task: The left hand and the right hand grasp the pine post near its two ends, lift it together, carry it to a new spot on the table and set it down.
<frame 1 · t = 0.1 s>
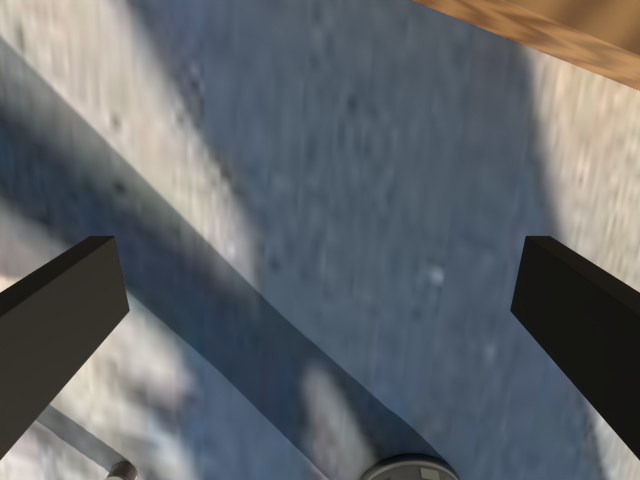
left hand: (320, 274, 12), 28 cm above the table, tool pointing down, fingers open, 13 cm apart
light bulb: (124, 470, 55), on the table
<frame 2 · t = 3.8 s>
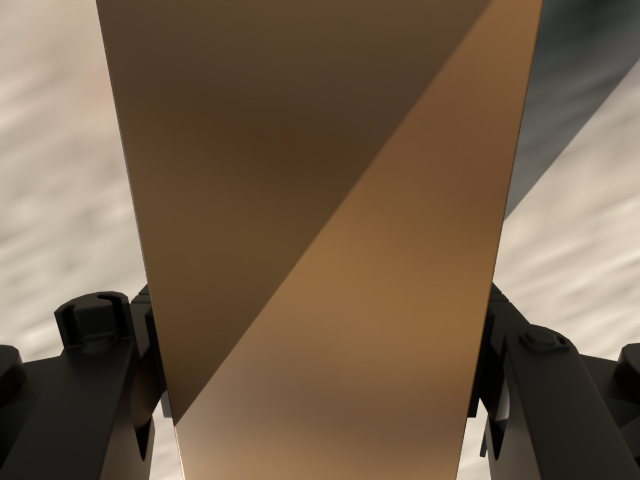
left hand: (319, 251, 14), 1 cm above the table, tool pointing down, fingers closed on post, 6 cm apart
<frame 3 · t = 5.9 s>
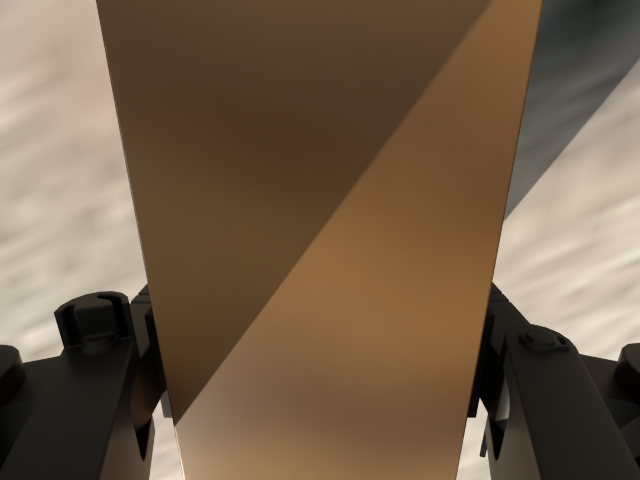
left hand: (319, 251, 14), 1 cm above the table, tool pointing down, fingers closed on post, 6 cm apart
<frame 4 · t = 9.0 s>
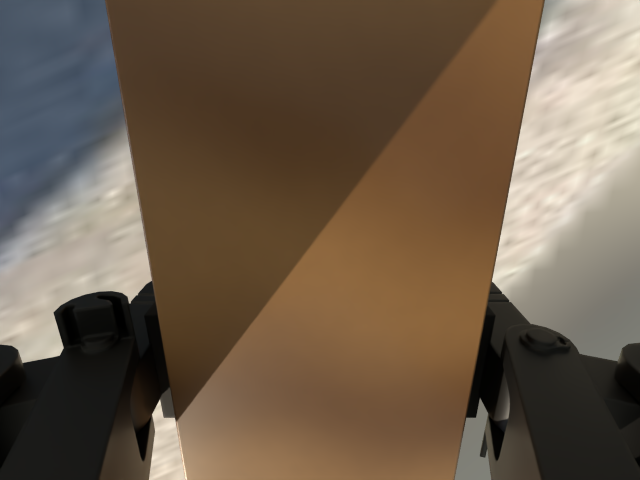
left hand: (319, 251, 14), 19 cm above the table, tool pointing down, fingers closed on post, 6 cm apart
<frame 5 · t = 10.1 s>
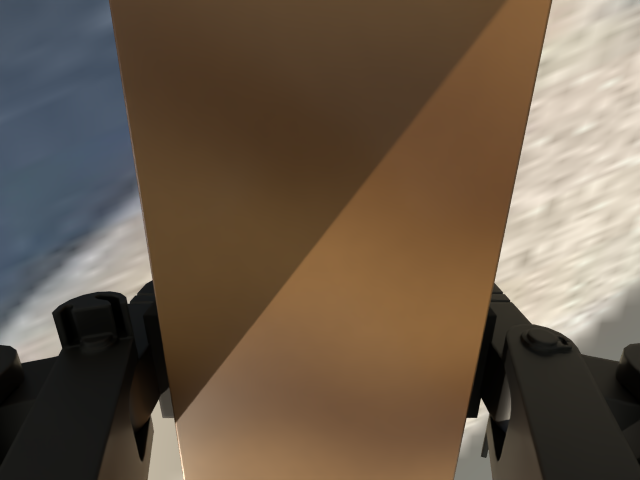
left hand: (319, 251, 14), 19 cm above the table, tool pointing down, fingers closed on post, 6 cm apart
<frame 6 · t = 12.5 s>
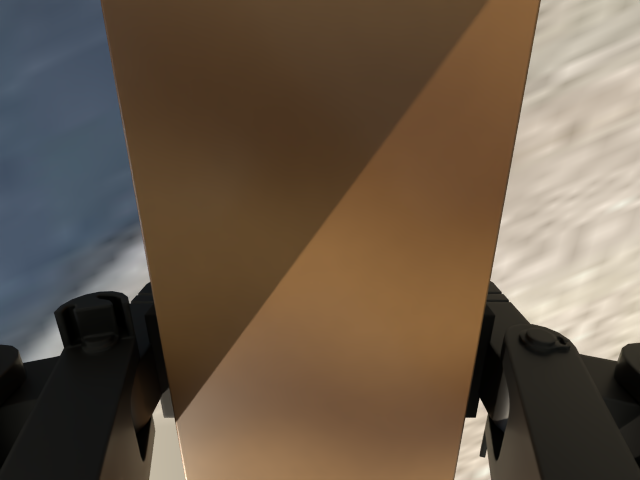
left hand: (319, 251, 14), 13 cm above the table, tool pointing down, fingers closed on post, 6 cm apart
when the left hand's fingers open (2 cm above the table, at t = 14.3 s): post drops 1 cm, on the table.
when the right hand's fingers open (4 cm above the table, at t = 14.5 s): post stays where it is, on the table.
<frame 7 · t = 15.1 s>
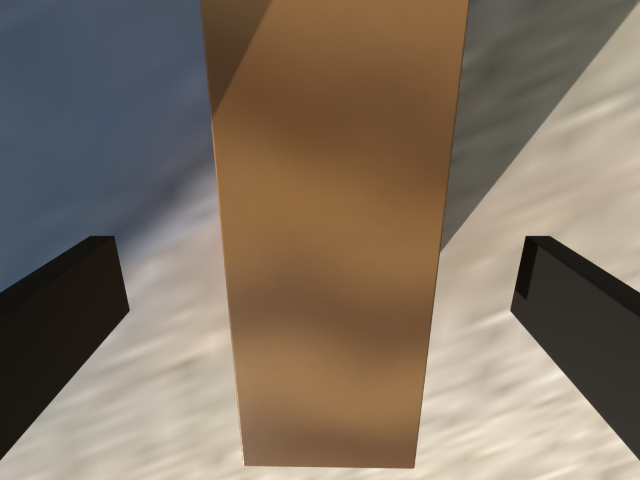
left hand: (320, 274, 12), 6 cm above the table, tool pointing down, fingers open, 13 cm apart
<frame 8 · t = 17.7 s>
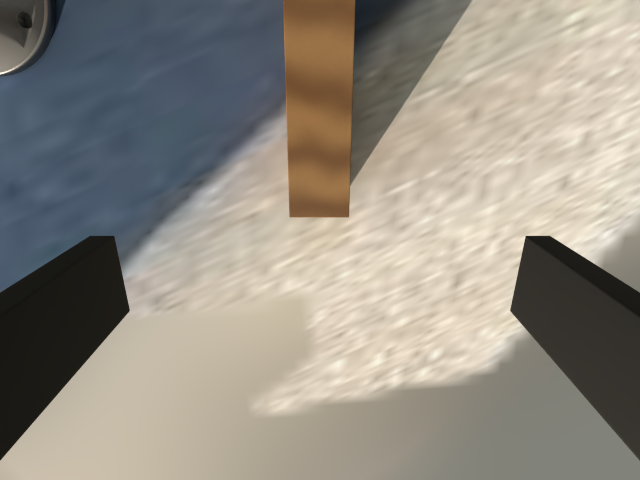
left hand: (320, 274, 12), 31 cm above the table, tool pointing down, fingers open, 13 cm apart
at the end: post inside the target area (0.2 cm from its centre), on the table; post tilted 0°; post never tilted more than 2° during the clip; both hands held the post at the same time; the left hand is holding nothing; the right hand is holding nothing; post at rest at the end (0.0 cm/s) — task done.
